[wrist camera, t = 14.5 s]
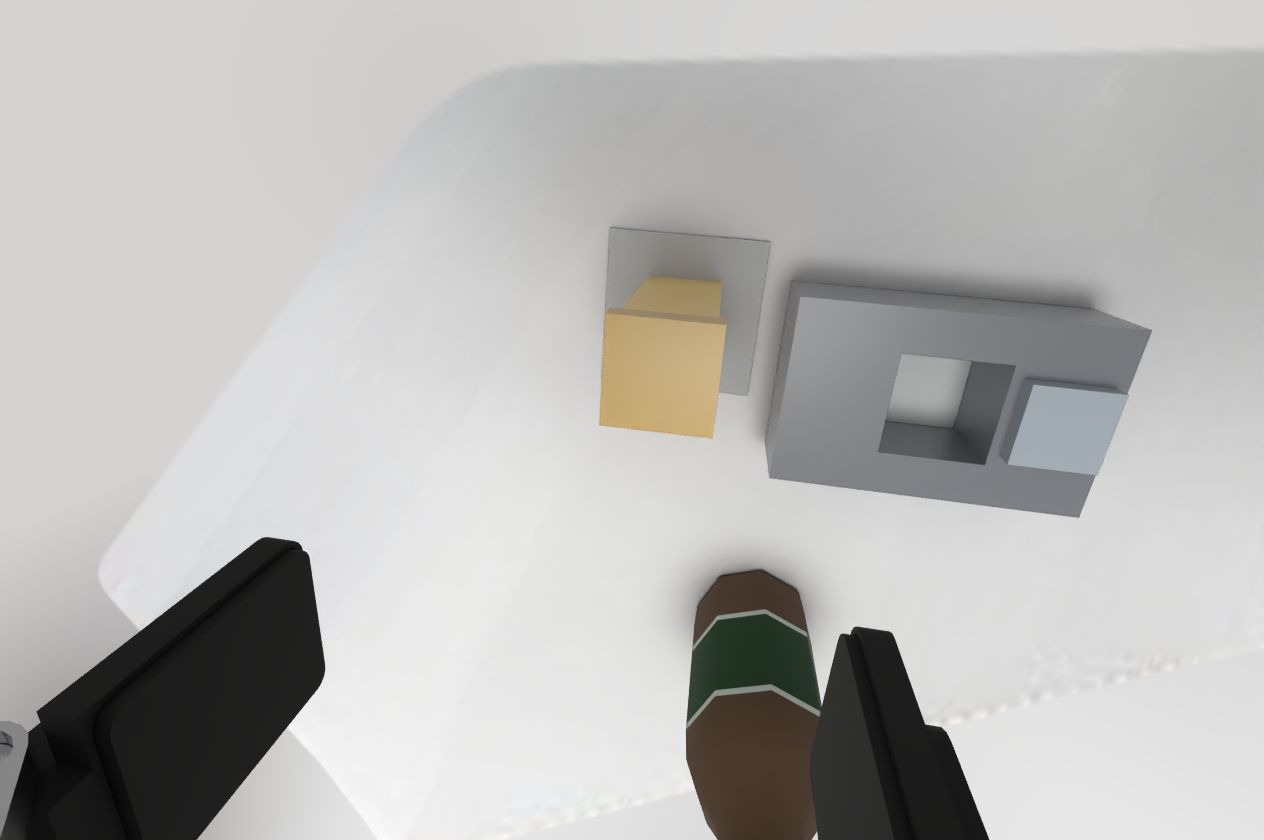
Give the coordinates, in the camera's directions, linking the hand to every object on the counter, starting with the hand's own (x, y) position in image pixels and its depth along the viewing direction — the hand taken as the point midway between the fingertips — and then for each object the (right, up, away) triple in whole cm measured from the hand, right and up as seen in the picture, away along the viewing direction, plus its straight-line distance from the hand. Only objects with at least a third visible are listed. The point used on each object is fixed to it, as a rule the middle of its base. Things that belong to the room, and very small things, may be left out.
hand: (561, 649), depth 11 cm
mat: (+4, +10, +26) cm, 28 cm away
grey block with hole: (+18, +6, +25) cm, 32 cm away
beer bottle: (+10, -10, +33) cm, 36 cm away
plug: (+4, +10, +26) cm, 28 cm away
